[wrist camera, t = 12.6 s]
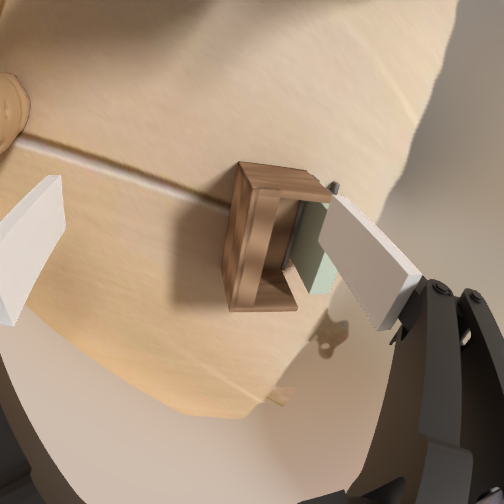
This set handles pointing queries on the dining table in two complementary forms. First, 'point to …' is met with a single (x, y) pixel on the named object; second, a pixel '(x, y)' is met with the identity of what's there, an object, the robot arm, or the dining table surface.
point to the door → (312, 250)
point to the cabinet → (265, 234)
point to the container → (12, 109)
